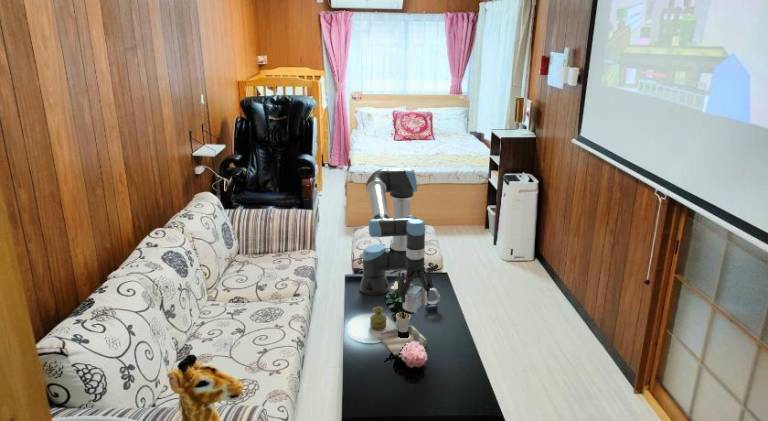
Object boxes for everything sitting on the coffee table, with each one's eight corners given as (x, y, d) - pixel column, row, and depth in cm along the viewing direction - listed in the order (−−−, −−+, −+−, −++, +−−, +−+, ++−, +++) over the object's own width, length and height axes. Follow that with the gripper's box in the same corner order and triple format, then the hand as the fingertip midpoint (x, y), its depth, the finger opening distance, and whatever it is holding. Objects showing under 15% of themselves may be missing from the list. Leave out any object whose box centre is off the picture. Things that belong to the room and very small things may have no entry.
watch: (441, 311, 250) (442, 290, 247) (424, 312, 249) (425, 291, 246) (438, 306, 255) (439, 285, 252) (422, 307, 254) (422, 286, 251)
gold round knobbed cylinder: (366, 327, 237) (366, 307, 234) (377, 321, 242) (377, 301, 239) (378, 332, 232) (378, 312, 229) (389, 326, 237) (389, 306, 234)
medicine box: (416, 313, 218) (416, 294, 216) (406, 311, 220) (406, 292, 217) (422, 305, 225) (423, 286, 223) (413, 303, 227) (413, 285, 224)
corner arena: (380, 339, 227) (380, 332, 226) (411, 331, 233) (411, 324, 232) (394, 355, 215) (394, 348, 214) (426, 347, 221) (426, 339, 220)
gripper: (396, 264, 208) (396, 315, 214) (442, 255, 217) (441, 304, 223) (388, 258, 214) (388, 308, 221) (433, 249, 223) (431, 297, 230)
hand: (414, 306), depth 222 cm, fingers closed on medicine box, 9 cm apart
